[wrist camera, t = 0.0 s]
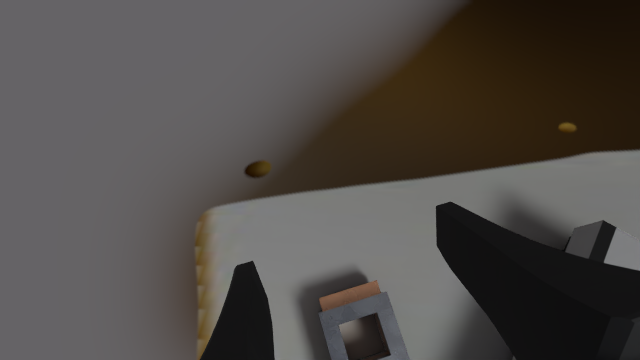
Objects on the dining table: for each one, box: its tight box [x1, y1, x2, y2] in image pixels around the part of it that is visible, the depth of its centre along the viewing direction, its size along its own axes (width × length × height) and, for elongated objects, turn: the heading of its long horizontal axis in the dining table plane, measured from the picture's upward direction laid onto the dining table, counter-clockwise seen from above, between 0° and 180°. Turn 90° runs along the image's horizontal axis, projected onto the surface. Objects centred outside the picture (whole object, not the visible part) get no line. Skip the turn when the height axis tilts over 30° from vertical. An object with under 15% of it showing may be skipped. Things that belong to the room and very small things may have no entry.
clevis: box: [318, 280, 410, 360], centre depth 41 cm, size 10×8×4 cm
